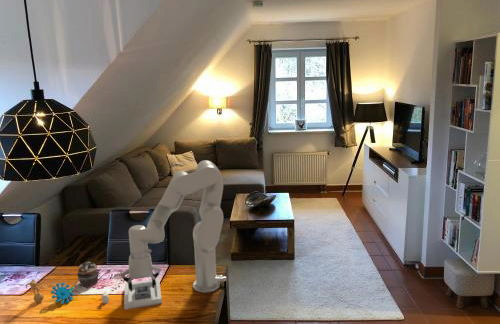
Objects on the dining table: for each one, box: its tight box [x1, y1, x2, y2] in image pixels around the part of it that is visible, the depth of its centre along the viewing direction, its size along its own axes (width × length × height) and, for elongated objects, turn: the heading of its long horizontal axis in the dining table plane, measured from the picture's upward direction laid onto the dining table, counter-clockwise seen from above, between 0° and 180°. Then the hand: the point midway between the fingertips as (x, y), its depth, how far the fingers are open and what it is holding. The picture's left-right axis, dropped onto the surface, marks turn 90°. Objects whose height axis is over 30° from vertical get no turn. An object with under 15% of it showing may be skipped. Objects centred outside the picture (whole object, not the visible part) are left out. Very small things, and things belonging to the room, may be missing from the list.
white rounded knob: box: [101, 291, 110, 304], centre depth 177 cm, size 3×4×4 cm
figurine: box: [25, 278, 45, 303], centre depth 176 cm, size 8×6×12 cm
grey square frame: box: [135, 285, 151, 300], centre depth 180 cm, size 7×8×3 cm
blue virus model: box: [50, 282, 75, 305], centre depth 179 cm, size 11×6×10 cm
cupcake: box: [77, 260, 99, 288], centre depth 192 cm, size 10×10×10 cm
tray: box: [123, 278, 163, 310], centre depth 181 cm, size 16×18×2 cm
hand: (142, 288), depth 180 cm, fingers open, 9 cm apart
